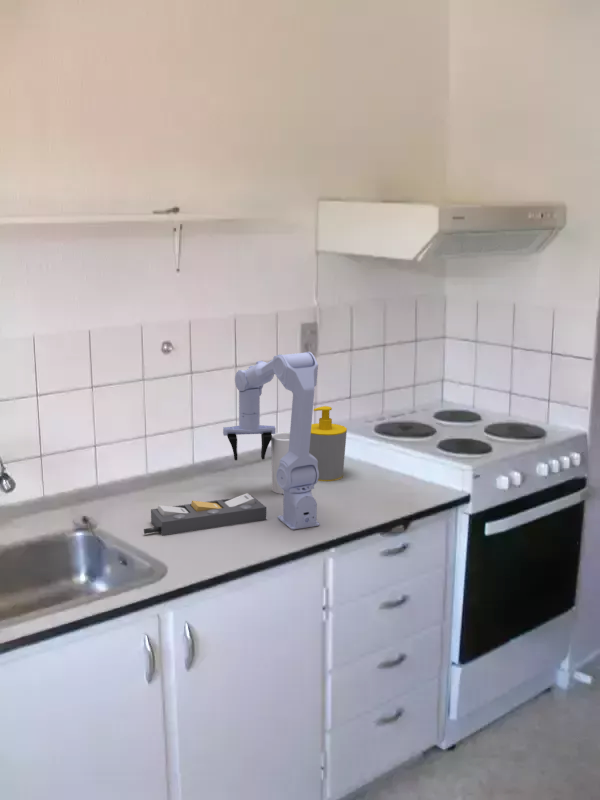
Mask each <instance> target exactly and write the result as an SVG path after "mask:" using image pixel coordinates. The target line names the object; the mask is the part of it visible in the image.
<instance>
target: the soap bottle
mask: <svg viewBox="0 0 600 800" xmlns="http://www.w3.org/2000/svg"><path fill="white" fill-rule="evenodd" d="M332 410H333V407H331V406H327V405H325V406H319V407H316V408H313V412H317V411H321V417H319V418H318V422H317V423H312V425H311V436H310V448H309V453H310V454H311V455H313V456H314V457H315V458H316V459H317V461H318V471H319V478H318V481H317V482H333V481H338V480H341V479H342V478H344V468H345V467H344V465H345V457H346V456H345V453H346V445H347V444H346V443H347V433H348V428H347V427H346V426H344V425H341V424H336V423H333V418H331V417H330V412H331V411H332Z"/></svg>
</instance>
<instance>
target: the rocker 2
mask: <svg viewBox="0 0 600 800" xmlns="http://www.w3.org/2000/svg"><path fill="white" fill-rule="evenodd" d="M253 497H254V496H253ZM253 497H251V495H250V494H249V493H248V492H247V493H245V494H241V495H239V496H238V495H237V496H236V497H232V498H233V499H231V500H228V501H226V502H224V503H225V504H227V505H228V506H229V507H233V506H240V505H247V504H255V501H254V498H255V497H254V498H253Z"/></svg>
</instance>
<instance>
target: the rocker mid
mask: <svg viewBox="0 0 600 800" xmlns="http://www.w3.org/2000/svg"><path fill="white" fill-rule="evenodd" d="M190 504H191V506H192V507H193V508H194V509H195V510H196V511H197V512H198V511H205V510H211V509H219V508H221V507H220V506H219V505H218V504H217V503H209V502H208V501H200V500H199V501H198V500H191V503H190Z"/></svg>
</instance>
